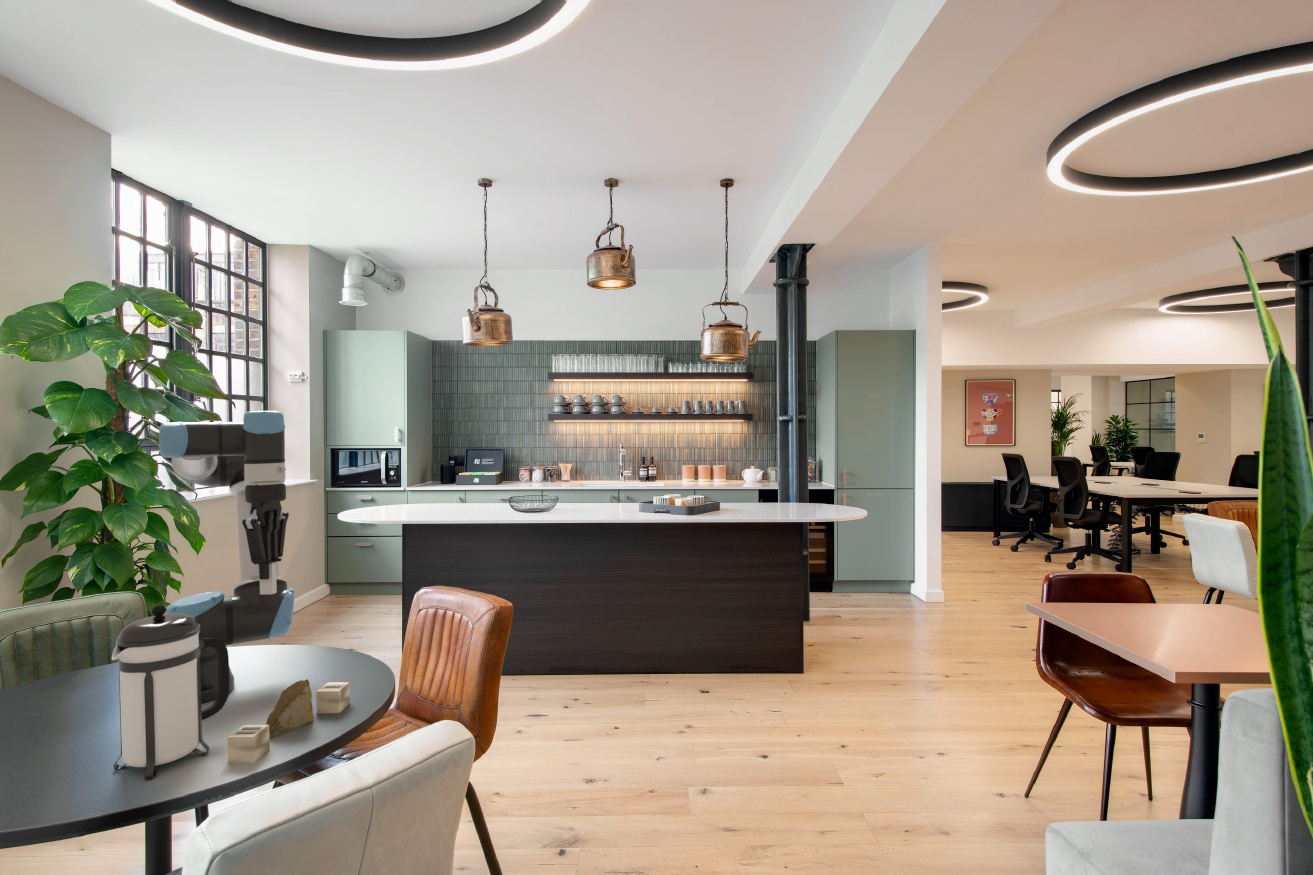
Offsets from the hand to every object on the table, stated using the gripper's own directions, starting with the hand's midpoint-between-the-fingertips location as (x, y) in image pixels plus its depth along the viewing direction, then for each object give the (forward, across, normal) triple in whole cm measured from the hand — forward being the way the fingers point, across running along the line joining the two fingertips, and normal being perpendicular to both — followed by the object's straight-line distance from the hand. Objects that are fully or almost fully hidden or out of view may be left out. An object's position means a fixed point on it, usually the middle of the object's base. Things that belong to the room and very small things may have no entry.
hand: (268, 593), depth 140 cm
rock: (+28, -2, -5) cm, 29 cm away
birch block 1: (+28, -14, -4) cm, 32 cm away
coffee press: (+28, -14, +12) cm, 34 cm away
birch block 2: (+28, +8, -10) cm, 31 cm away
